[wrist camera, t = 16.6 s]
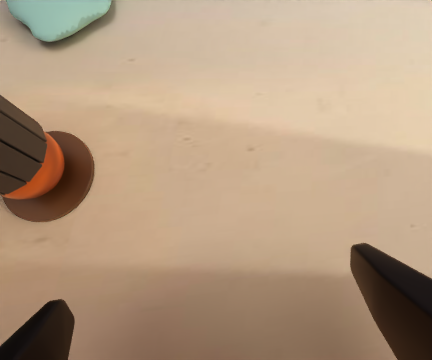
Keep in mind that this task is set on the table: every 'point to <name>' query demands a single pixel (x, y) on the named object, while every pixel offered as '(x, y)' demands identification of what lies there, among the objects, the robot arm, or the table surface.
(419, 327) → the robot arm
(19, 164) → the tube
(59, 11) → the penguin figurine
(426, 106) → the table surface
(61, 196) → the ball stand
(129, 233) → the table surface
